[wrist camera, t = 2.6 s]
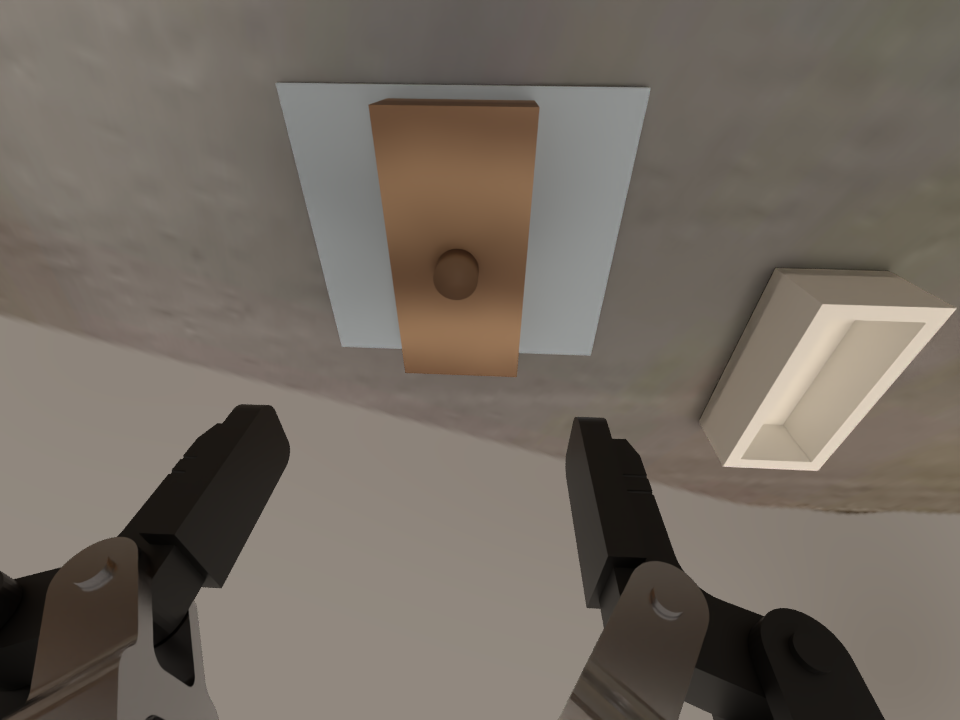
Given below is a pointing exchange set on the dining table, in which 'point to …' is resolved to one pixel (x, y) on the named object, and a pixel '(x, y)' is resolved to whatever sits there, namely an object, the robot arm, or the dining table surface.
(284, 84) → the mat
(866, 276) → the dish
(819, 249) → the dining table surface
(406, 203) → the lid
